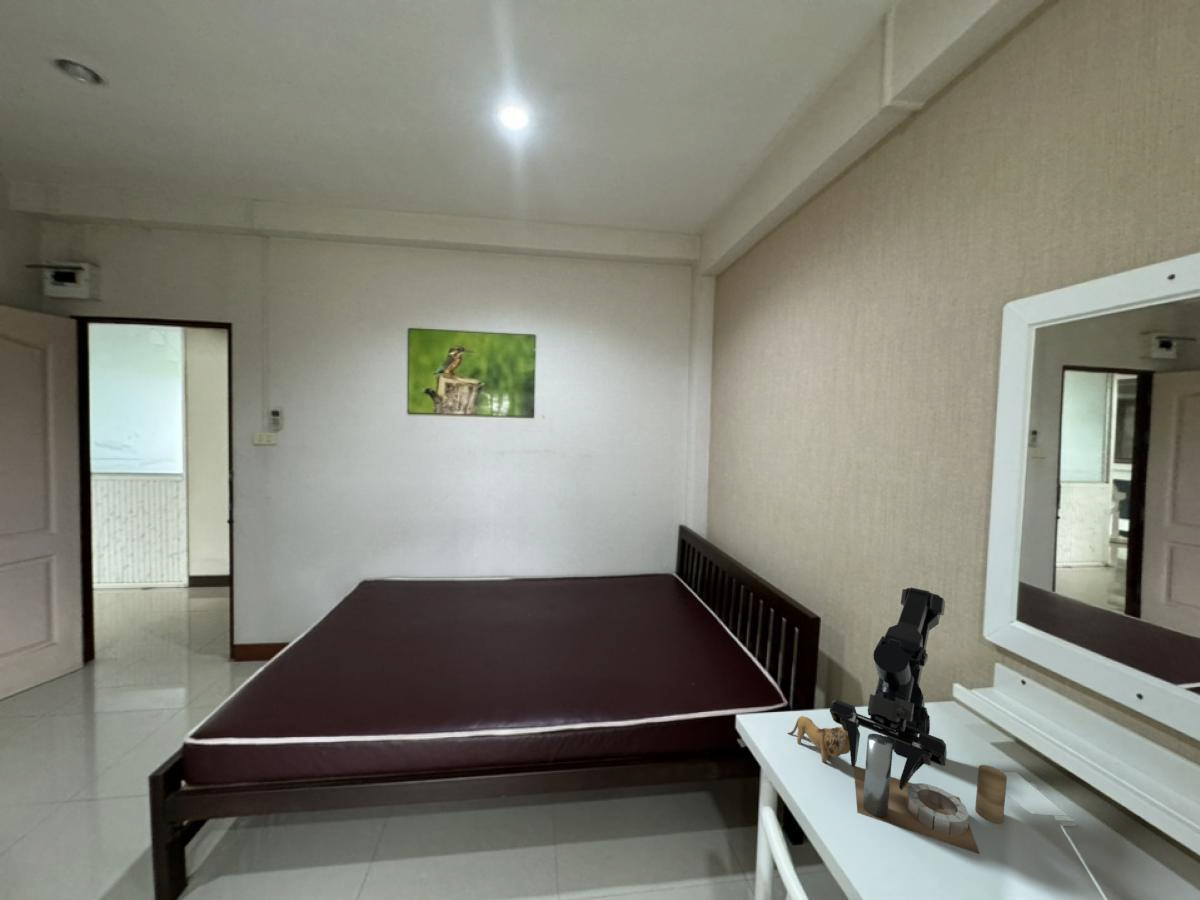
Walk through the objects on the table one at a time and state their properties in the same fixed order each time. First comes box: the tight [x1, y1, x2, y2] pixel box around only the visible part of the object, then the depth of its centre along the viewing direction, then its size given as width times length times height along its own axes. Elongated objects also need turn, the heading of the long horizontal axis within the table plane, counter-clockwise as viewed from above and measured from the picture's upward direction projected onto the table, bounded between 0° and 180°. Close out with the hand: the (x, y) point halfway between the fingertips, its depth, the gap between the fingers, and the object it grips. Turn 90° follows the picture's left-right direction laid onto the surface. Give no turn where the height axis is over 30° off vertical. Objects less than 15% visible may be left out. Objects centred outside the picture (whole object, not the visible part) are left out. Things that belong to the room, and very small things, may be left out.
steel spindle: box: [863, 733, 894, 818], centre depth 88 cm, size 4×4×13 cm
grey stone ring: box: [906, 782, 970, 836], centre depth 88 cm, size 9×9×2 cm
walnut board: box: [853, 765, 981, 855], centre depth 90 cm, size 14×18×1 cm
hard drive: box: [1002, 771, 1077, 827], centre depth 94 cm, size 2×8×12 cm
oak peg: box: [974, 764, 1007, 825], centre depth 88 cm, size 4×4×9 cm
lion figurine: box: [786, 715, 850, 764], centre depth 104 cm, size 15×5×9 cm, turn 35°
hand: (876, 777), depth 87 cm, fingers open, 7 cm apart
